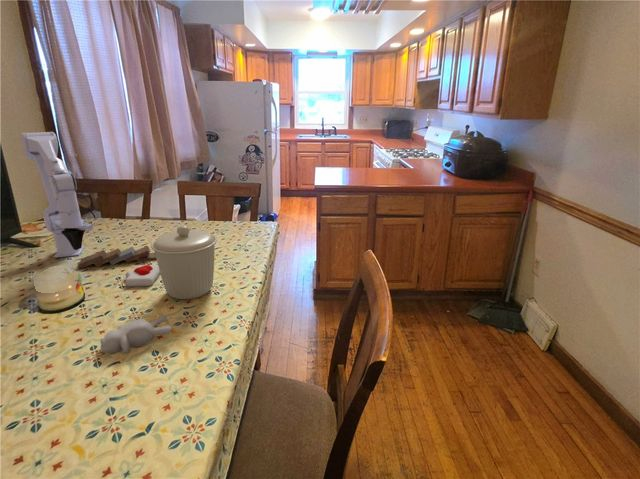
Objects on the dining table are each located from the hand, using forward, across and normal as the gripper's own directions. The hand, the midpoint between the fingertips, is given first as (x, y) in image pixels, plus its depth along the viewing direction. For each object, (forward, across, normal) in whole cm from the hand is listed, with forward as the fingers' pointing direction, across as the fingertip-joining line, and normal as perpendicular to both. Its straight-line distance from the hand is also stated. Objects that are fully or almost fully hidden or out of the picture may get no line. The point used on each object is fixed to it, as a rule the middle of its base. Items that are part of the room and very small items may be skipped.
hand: (77, 248), depth 130 cm
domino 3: (+6, -12, -8) cm, 15 cm away
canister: (+7, -46, +5) cm, 47 cm away
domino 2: (+6, -4, -3) cm, 7 cm away
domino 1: (+6, 0, 0) cm, 6 cm away
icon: (+7, -26, +2) cm, 27 cm away
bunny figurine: (+7, -49, +32) cm, 59 cm away
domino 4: (+6, -14, -10) cm, 19 cm away
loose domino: (+6, -8, -5) cm, 11 cm away
